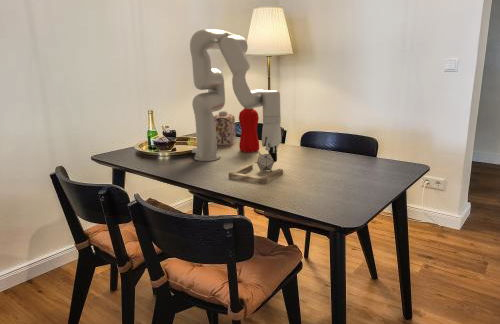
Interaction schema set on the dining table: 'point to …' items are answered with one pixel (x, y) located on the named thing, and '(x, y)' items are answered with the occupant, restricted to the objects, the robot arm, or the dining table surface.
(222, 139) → the decorative jar
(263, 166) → the game die
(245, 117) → the water bottle
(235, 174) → the u-shaped tan bracket
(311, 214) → the dining table surface
